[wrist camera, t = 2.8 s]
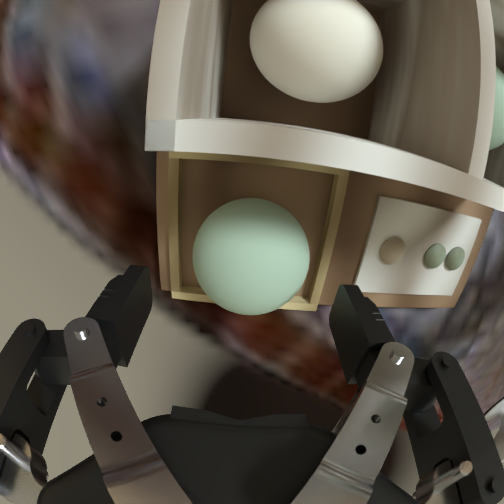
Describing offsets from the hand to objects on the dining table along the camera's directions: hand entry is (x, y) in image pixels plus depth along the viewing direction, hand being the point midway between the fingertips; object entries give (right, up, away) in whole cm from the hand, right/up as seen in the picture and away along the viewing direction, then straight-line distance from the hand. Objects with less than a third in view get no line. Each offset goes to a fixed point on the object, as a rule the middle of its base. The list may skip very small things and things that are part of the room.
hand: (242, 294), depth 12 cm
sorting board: (+8, +9, +4) cm, 12 cm away
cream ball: (+3, +12, +1) cm, 13 cm away
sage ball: (0, +3, +6) cm, 6 cm away
